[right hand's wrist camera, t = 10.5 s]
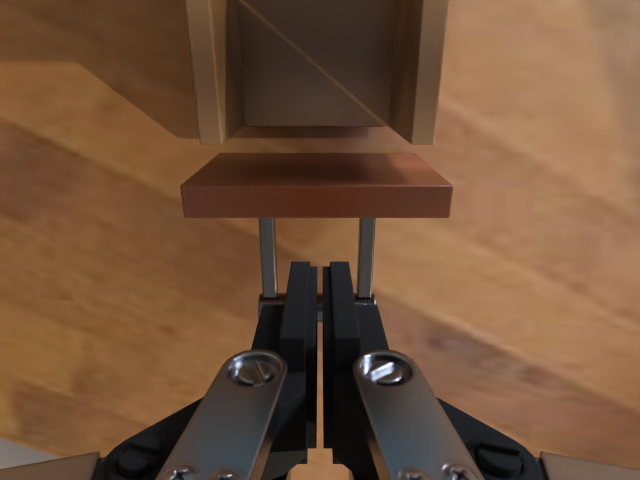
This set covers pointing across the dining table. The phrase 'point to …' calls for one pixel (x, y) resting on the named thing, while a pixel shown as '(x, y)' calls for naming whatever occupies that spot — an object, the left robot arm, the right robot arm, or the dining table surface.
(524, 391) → the dining table surface
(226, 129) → the drawer
